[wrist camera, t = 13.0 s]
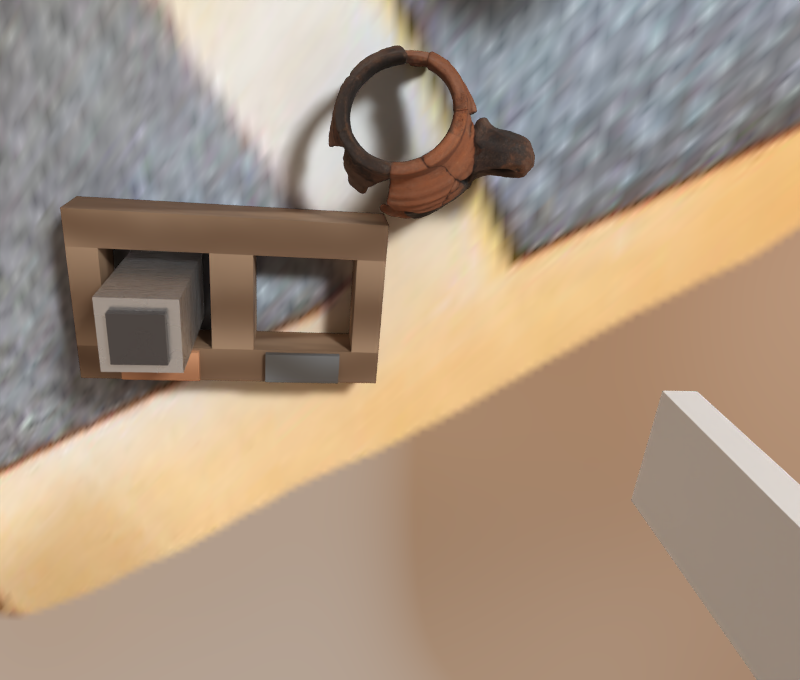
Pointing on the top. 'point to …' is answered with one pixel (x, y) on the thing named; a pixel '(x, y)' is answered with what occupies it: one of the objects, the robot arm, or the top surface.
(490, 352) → the top surface
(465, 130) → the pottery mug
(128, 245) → the socket board
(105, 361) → the plug
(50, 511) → the top surface
